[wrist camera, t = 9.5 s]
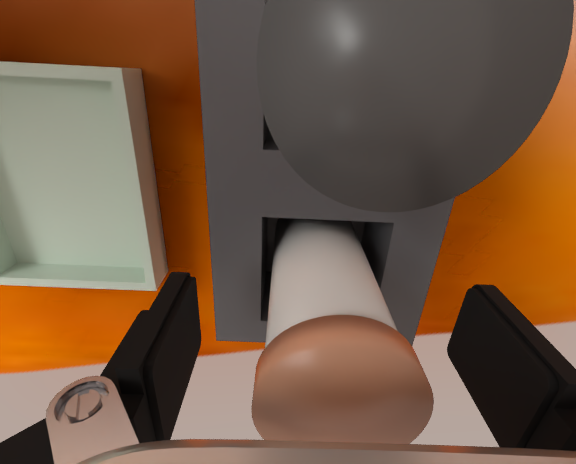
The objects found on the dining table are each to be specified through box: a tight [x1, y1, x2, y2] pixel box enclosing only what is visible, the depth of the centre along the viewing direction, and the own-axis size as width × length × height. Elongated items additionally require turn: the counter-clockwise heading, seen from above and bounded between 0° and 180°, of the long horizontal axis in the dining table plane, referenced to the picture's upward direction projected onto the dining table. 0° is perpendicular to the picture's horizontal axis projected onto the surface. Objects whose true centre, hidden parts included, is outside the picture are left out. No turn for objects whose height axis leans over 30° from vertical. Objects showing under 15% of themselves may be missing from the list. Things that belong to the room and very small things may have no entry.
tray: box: [0, 61, 168, 291], centre depth 16 cm, size 11×9×2 cm
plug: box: [252, 218, 434, 444], centre depth 12 cm, size 4×4×10 cm
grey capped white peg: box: [257, 0, 574, 212], centre depth 9 cm, size 4×4×10 cm
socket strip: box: [195, 0, 455, 346], centre depth 14 cm, size 15×9×6 cm, turn 177°
